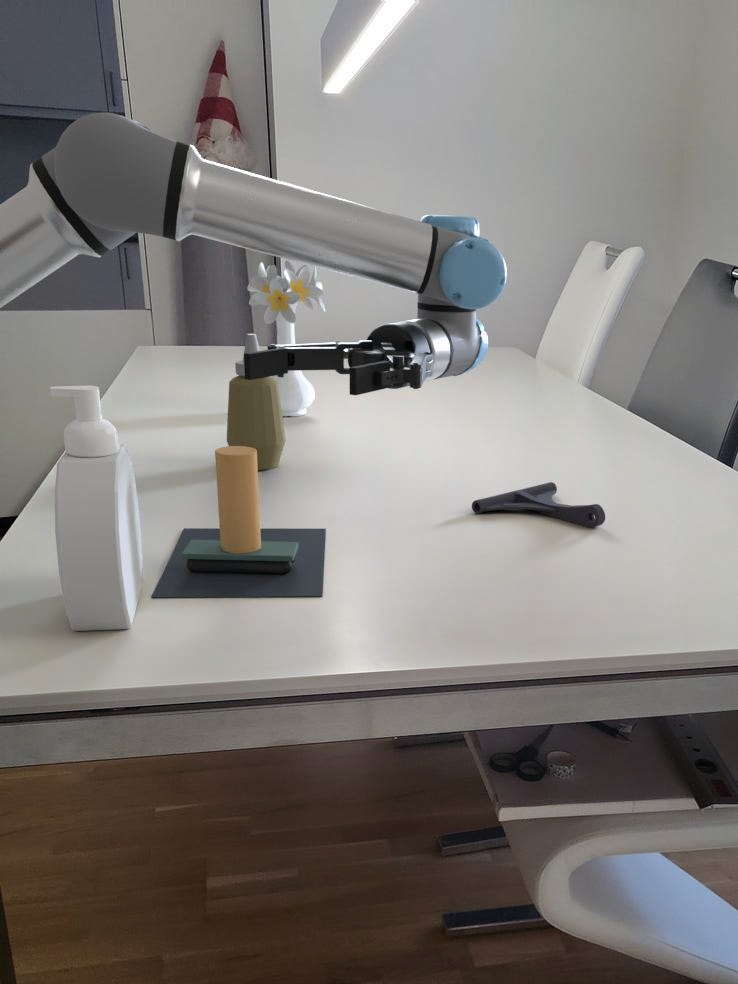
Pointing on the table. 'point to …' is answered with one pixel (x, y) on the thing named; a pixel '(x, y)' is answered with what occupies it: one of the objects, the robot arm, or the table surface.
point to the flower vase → (287, 323)
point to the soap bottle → (96, 520)
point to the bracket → (542, 505)
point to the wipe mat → (223, 585)
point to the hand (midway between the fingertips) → (298, 374)
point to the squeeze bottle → (255, 413)
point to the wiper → (239, 523)
